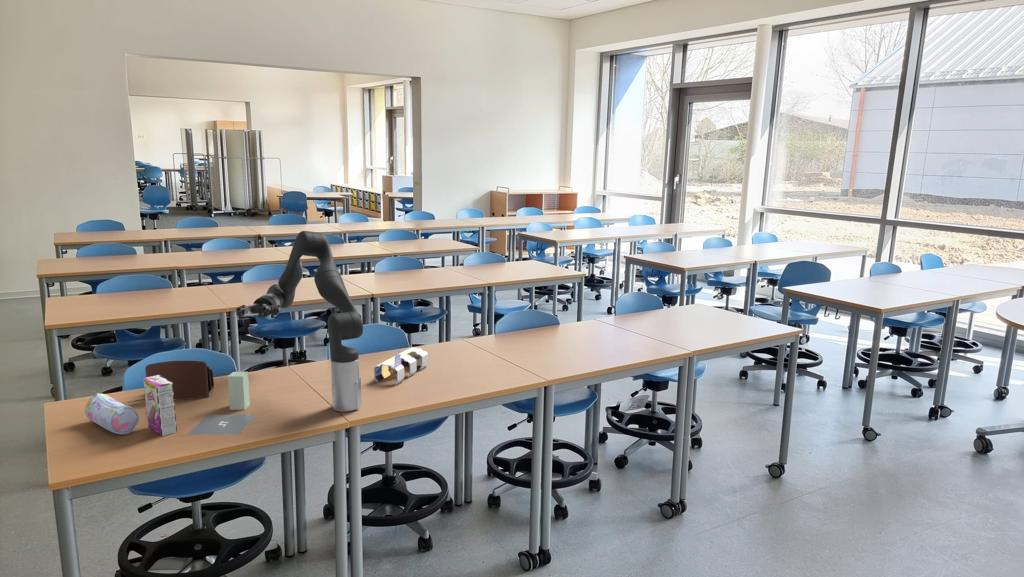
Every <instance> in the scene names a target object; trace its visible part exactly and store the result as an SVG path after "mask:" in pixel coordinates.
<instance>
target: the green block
mask: <svg viewBox="0 0 1024 577" xmlns="http://www.w3.org/2000/svg"><path fill="white" fill-rule="evenodd" d="M249 381H250V380H249V371H232V372H231V373H229V375H227V388H228V389H227V390H228V391H227V392H228V403H229V410H230V411H242V410H243V411H245V410H247V408H248V407H249V406H250V405H251V399H250V398H251V397H250V382H249Z"/></svg>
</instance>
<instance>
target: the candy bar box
mask: <svg viewBox="0 0 1024 577" xmlns="http://www.w3.org/2000/svg"><path fill="white" fill-rule="evenodd" d="M142 381H143V390H144V397H145V409H146V417H147V418H146V419H147V426H148V428H149V429H151V430H153V431H154V432H155V433H157V434H158V435H159V436H160V437H165V436H167V435H168V436H169V435H172V434H176V433H178V424H177V415H176V405H175V403H176V402H175V400H174V393H173V383H172V382H170V381H168V380H167V379H165V378H163V377H162V376H160V375H155V376H150V377H146V376H145V377H143V378H142Z"/></svg>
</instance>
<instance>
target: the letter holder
mask: <svg viewBox="0 0 1024 577" xmlns="http://www.w3.org/2000/svg"><path fill="white" fill-rule="evenodd" d="M144 369H145V378H146V377H150V376H155V375H160V376H162V377H163V378H165V379H167V380H168V381H170V382H172V383H173V393H174V399H177V400H190V399H189V398H193V399H208V398H209V397H210V396H211V394H212V393H213V391H214V389H215V381H214V371H213V369H211V367H210V366H208V365H207V363H206V362H205V361H202V360H201V361H200V360H170V361H162V362H155V363H150V364H147V365H145V367H144ZM206 397H207V398H206Z"/></svg>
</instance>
